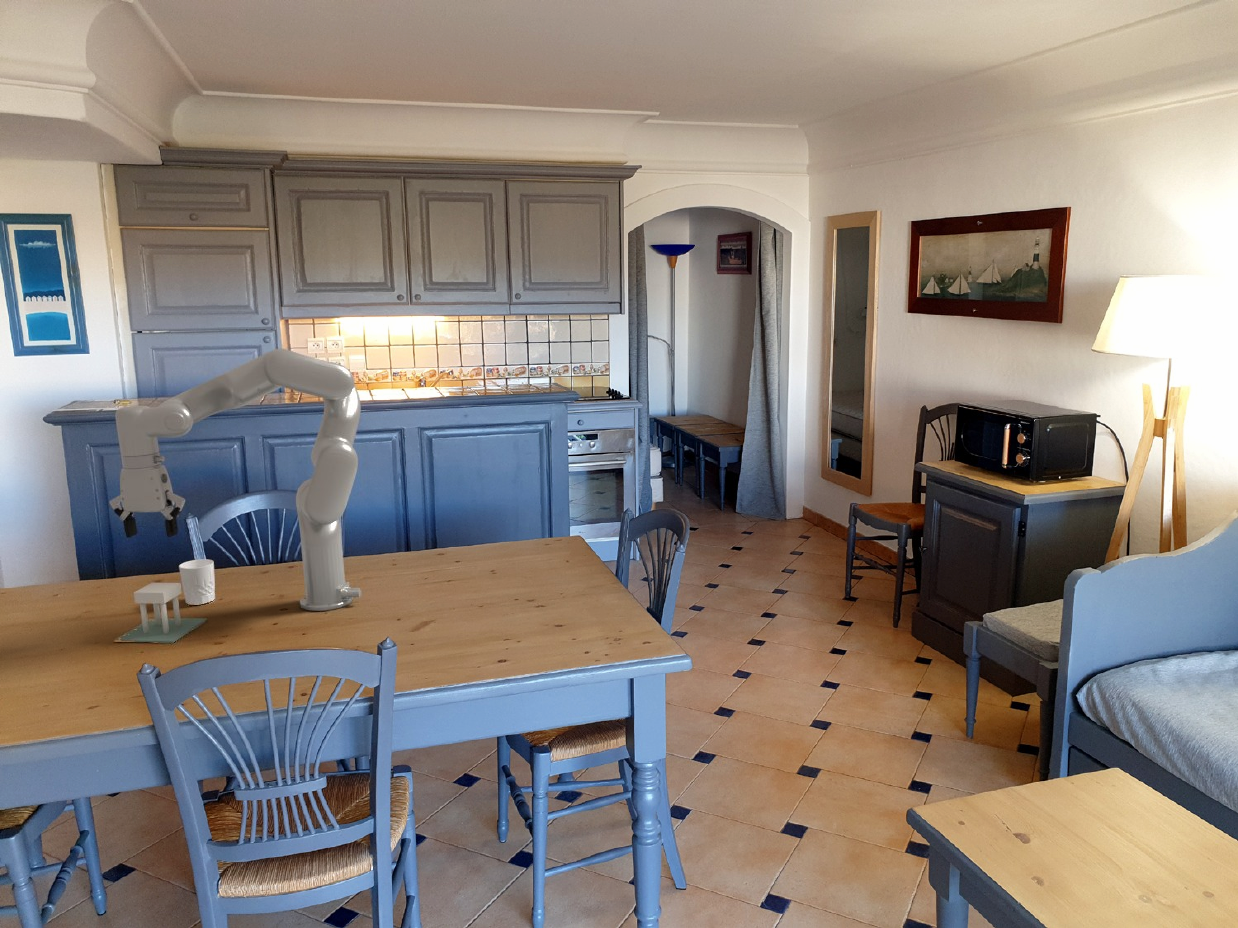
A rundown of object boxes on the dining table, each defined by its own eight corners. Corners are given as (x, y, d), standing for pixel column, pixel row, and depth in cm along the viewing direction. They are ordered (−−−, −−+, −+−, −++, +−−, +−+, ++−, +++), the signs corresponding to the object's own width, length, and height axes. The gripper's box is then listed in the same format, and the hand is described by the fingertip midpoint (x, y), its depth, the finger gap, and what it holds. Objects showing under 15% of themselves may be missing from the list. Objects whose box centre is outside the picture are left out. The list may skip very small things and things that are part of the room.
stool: (185, 623, 211) (180, 582, 209) (168, 634, 204) (163, 592, 202) (156, 623, 211) (151, 582, 209) (138, 634, 204) (133, 592, 202)
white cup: (223, 596, 231) (219, 559, 229) (207, 607, 223) (202, 568, 221) (194, 596, 231) (190, 559, 230) (176, 606, 224) (172, 568, 222)
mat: (207, 620, 214) (206, 618, 214) (173, 643, 200) (173, 641, 200) (151, 619, 215) (150, 617, 215) (114, 642, 201) (113, 640, 201)
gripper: (187, 457, 203) (197, 530, 206) (115, 459, 204) (126, 531, 208) (168, 464, 196) (179, 540, 199) (93, 465, 197) (105, 540, 201)
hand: (152, 535), depth 203 cm, fingers open, 9 cm apart
